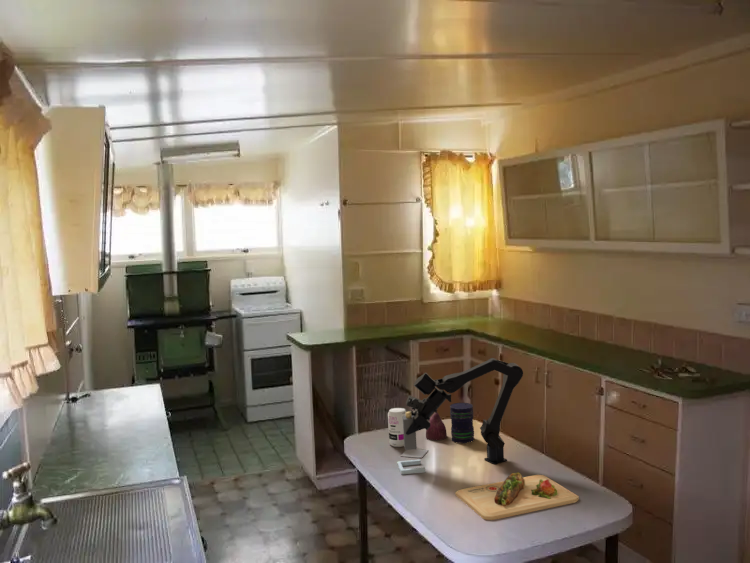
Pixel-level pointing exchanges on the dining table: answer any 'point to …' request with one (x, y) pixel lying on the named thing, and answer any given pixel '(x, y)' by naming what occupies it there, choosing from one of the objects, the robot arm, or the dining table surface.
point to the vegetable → (436, 428)
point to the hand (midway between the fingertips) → (406, 432)
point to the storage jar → (462, 422)
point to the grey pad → (414, 453)
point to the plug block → (411, 438)
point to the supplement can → (396, 426)
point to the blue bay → (412, 470)
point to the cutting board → (515, 496)
